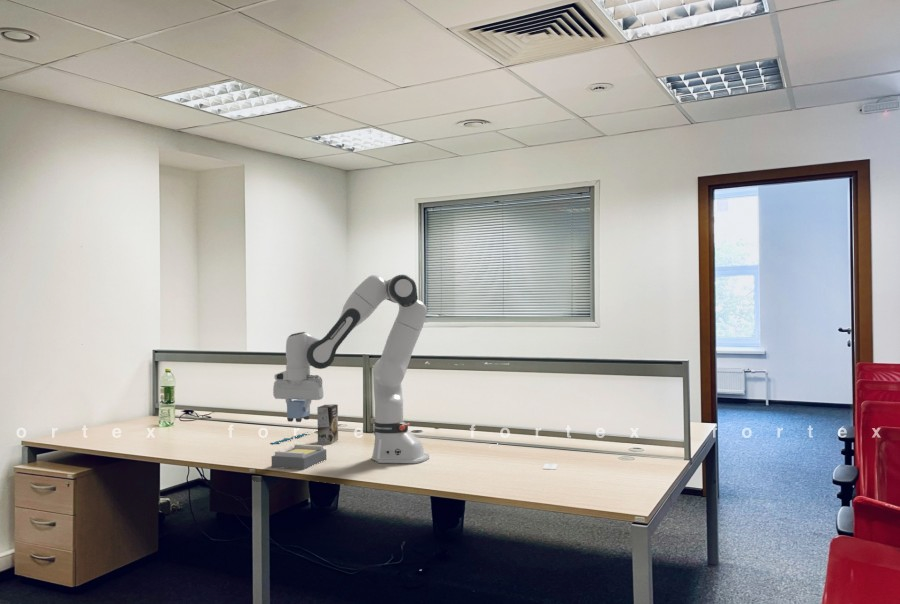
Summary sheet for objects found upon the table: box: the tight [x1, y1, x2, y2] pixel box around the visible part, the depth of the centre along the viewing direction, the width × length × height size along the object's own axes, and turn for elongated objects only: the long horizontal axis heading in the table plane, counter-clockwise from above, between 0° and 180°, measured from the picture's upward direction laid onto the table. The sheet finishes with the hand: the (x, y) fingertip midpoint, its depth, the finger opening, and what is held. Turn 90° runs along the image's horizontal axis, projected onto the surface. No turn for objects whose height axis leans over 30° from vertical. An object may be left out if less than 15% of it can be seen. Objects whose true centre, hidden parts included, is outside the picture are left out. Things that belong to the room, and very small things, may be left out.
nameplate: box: [269, 431, 309, 445], centre depth 308 cm, size 37×1×5 cm
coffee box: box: [316, 404, 339, 445], centre depth 294 cm, size 9×6×16 cm
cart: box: [286, 399, 311, 423], centre depth 254 cm, size 5×8×8 cm, turn 161°
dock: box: [271, 443, 327, 470], centre depth 254 cm, size 14×16×6 cm
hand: (298, 411), depth 254 cm, fingers closed on cart, 5 cm apart
